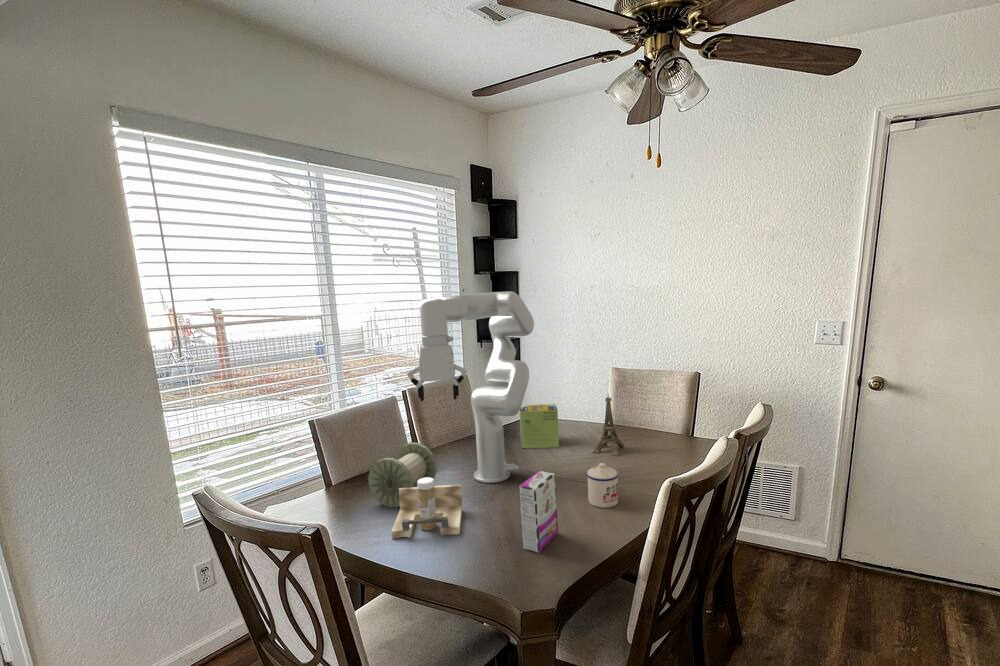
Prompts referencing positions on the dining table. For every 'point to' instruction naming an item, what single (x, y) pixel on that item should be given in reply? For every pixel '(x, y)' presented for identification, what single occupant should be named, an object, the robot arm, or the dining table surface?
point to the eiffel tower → (613, 436)
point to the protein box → (539, 426)
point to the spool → (401, 472)
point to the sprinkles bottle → (427, 502)
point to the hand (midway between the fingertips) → (438, 399)
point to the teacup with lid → (602, 486)
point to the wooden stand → (445, 506)
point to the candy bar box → (538, 511)
